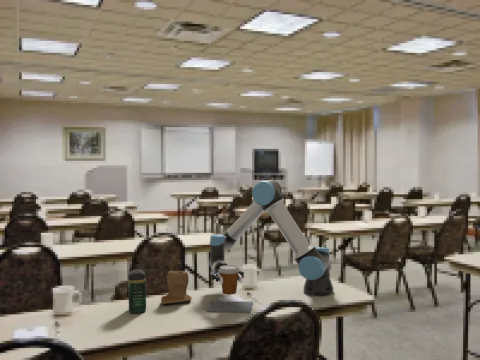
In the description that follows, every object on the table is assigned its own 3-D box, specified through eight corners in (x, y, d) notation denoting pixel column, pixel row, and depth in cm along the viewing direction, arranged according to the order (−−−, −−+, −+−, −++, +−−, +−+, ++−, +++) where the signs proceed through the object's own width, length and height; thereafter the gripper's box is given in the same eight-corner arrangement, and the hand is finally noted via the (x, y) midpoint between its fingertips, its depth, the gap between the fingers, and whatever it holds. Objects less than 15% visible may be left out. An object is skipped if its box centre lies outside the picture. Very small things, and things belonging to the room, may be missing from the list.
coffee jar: (147, 312, 195) (146, 272, 195) (128, 314, 193) (127, 273, 193) (146, 306, 205) (145, 267, 204) (128, 308, 203) (127, 268, 202)
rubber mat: (253, 302, 207) (253, 301, 207) (250, 312, 193) (250, 311, 193) (211, 302, 209) (211, 300, 209) (206, 311, 195) (206, 310, 195)
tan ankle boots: (188, 296, 219) (187, 267, 219) (193, 303, 208) (192, 272, 208) (158, 300, 214) (157, 269, 214) (161, 307, 203) (160, 275, 203)
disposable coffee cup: (239, 295, 196) (239, 269, 196) (218, 295, 196) (218, 269, 196) (239, 289, 206) (239, 264, 205) (219, 289, 206) (219, 264, 205)
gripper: (241, 274, 221) (254, 286, 199) (200, 277, 216) (208, 290, 194) (241, 260, 221) (253, 270, 199) (200, 262, 215) (208, 273, 193)
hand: (231, 280), depth 196 cm, fingers closed on disposable coffee cup, 8 cm apart
